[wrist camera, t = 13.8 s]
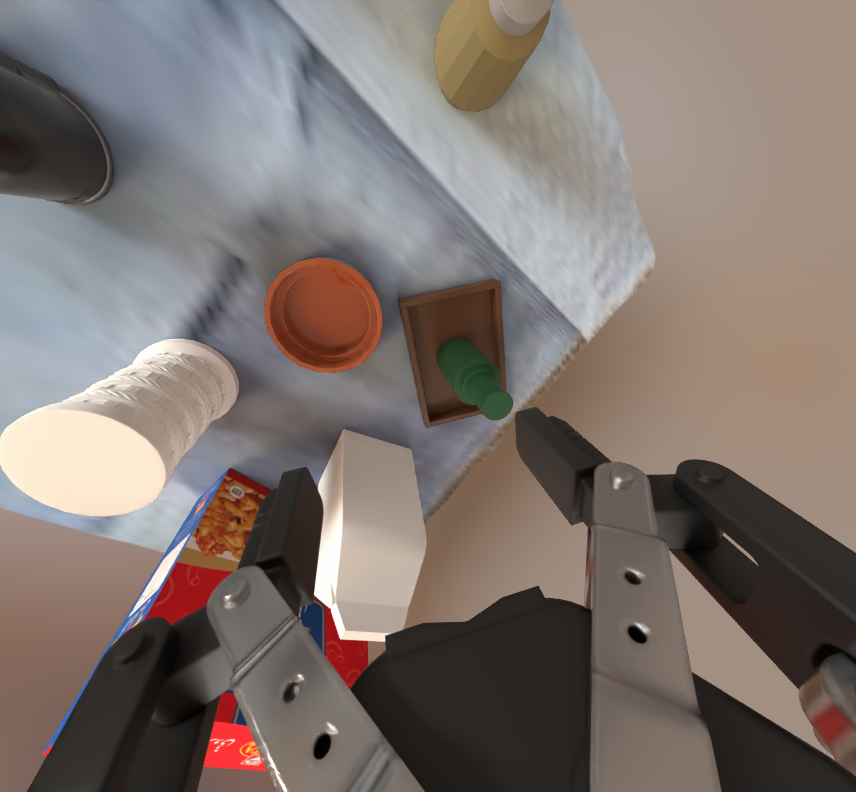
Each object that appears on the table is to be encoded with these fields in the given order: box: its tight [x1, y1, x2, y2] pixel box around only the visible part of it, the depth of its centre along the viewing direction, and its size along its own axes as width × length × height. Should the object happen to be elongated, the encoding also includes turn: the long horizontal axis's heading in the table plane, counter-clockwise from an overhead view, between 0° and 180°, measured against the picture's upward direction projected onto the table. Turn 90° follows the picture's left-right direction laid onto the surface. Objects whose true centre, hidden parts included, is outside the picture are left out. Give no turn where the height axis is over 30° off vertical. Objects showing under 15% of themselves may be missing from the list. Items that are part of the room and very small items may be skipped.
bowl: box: [264, 257, 383, 373], centre depth 39 cm, size 13×13×5 cm
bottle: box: [436, 337, 513, 420], centre depth 40 cm, size 6×6×16 cm
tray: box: [398, 279, 506, 428], centre depth 46 cm, size 20×14×3 cm
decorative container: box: [0, 339, 239, 516], centre depth 33 cm, size 12×12×18 cm
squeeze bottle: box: [435, 0, 554, 112], centre depth 25 cm, size 8×8×18 cm
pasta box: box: [42, 468, 368, 771], centre depth 43 cm, size 28×8×28 cm, turn 42°
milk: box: [314, 429, 427, 642], centre depth 42 cm, size 12×12×26 cm
